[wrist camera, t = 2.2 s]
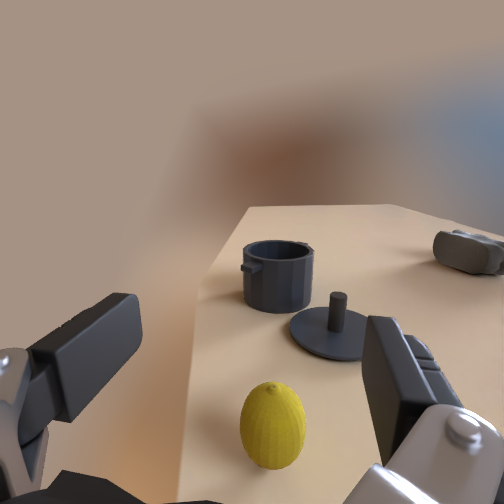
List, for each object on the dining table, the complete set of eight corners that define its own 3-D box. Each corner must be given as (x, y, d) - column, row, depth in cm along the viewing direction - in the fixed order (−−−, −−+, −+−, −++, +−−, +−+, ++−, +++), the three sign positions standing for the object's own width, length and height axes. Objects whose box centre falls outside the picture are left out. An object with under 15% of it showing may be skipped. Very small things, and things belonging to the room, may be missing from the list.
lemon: (274, 508, 23) (277, 427, 21) (227, 459, 27) (225, 385, 24) (316, 460, 27) (322, 386, 24) (269, 422, 31) (271, 355, 28)
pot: (219, 304, 55) (217, 254, 52) (276, 275, 68) (277, 234, 65) (277, 328, 47) (279, 271, 44) (328, 290, 60) (332, 244, 58)
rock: (532, 279, 66) (542, 244, 64) (491, 284, 63) (500, 247, 61) (459, 254, 83) (465, 225, 81) (424, 257, 81) (429, 228, 78)
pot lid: (271, 338, 45) (272, 298, 43) (315, 304, 55) (317, 270, 53) (364, 379, 36) (370, 331, 34) (395, 331, 46) (401, 292, 44)
